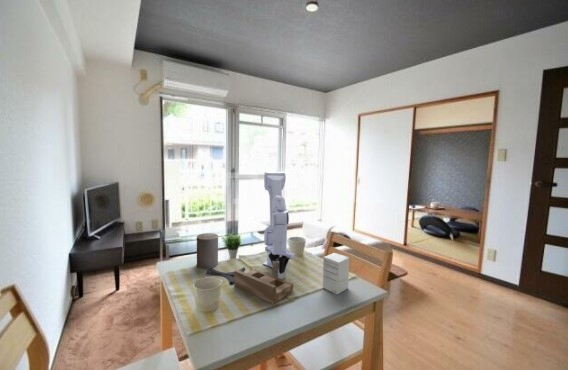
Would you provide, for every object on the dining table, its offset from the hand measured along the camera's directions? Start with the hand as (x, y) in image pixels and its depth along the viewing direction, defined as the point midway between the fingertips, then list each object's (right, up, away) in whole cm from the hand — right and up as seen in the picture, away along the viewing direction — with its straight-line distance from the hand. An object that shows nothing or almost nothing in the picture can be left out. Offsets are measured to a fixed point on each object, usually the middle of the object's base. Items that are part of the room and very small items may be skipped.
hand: (279, 271), depth 110 cm
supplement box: (+22, -4, -7) cm, 24 cm away
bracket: (-24, -3, +3) cm, 24 cm away
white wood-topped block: (0, -3, 0) cm, 3 cm away
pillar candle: (-34, -1, +13) cm, 36 cm away
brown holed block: (-5, -4, -8) cm, 10 cm away
